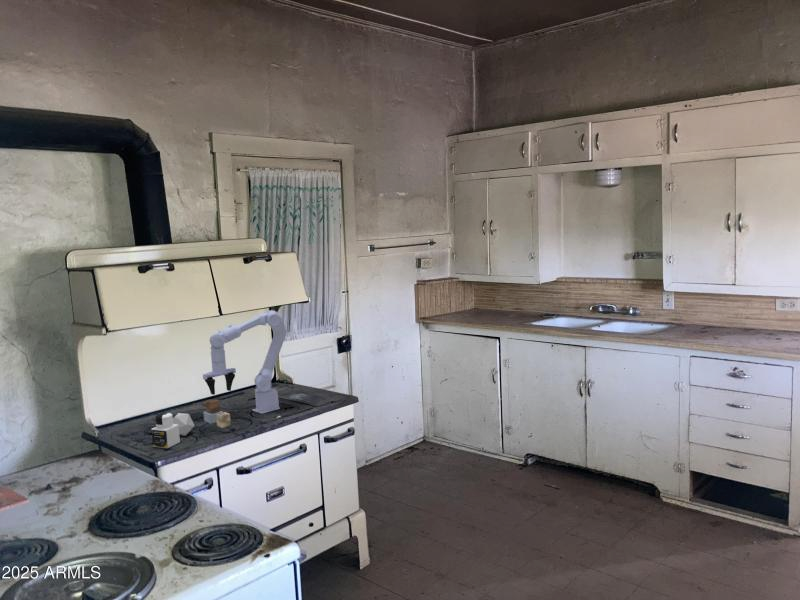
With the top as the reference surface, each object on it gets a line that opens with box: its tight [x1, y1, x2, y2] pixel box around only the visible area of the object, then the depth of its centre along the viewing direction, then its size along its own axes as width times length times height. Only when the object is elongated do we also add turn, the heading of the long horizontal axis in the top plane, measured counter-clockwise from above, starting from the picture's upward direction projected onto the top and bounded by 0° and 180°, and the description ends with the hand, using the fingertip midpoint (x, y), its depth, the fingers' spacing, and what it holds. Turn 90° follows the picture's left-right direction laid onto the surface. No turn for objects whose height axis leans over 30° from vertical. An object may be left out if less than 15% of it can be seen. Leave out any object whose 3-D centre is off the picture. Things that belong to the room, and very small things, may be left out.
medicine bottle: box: [150, 412, 181, 449], centre depth 246 cm, size 7×7×12 cm
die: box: [173, 412, 195, 437], centre depth 258 cm, size 8×9×10 cm
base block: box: [202, 410, 224, 424], centre depth 275 cm, size 6×6×4 cm
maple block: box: [216, 411, 232, 429], centre depth 267 cm, size 4×4×5 cm
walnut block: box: [205, 398, 221, 414], centre depth 274 cm, size 4×4×5 cm
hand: (221, 392), depth 280 cm, fingers open, 7 cm apart
